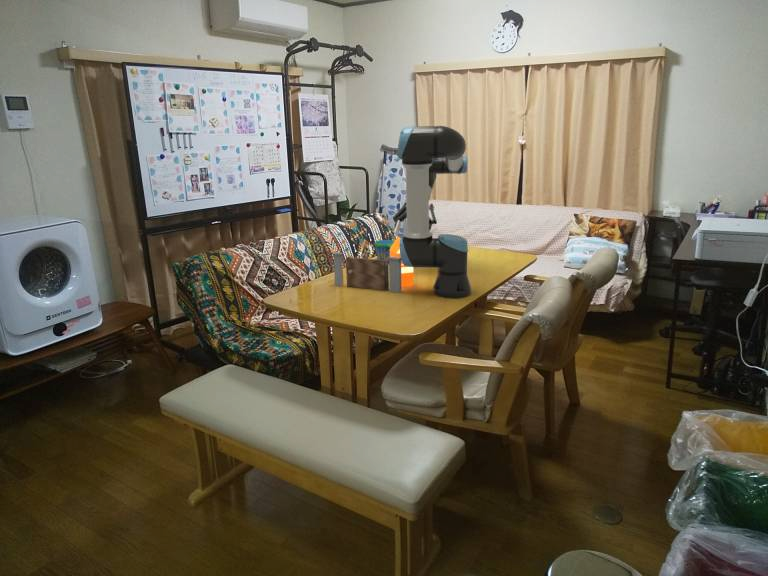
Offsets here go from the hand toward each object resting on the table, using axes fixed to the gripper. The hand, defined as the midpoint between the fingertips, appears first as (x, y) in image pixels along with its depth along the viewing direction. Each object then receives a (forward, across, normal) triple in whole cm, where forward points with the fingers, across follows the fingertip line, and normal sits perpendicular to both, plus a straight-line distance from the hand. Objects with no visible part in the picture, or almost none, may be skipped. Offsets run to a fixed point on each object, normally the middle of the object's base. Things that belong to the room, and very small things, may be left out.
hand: (410, 234), depth 231 cm
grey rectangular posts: (+29, +12, +1) cm, 31 cm away
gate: (+29, +11, +2) cm, 31 cm away
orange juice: (+21, 0, -6) cm, 22 cm away
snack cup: (-3, +23, -31) cm, 39 cm away
